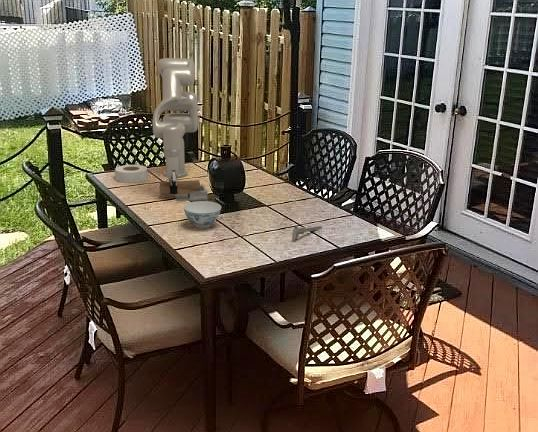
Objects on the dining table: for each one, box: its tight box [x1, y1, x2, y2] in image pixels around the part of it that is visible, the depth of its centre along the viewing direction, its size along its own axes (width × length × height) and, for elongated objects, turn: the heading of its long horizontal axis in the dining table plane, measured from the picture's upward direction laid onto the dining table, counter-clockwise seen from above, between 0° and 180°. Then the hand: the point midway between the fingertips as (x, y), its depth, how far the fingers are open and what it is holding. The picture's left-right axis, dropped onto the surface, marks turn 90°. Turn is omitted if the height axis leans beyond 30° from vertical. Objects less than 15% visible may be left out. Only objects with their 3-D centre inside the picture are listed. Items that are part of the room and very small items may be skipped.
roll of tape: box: [114, 164, 149, 184], centre depth 317 cm, size 16×16×6 cm
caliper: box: [291, 225, 323, 242], centre depth 249 cm, size 20×1×6 cm, turn 143°
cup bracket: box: [174, 184, 209, 202], centre depth 292 cm, size 11×14×4 cm
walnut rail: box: [158, 179, 201, 196], centre depth 290 cm, size 4×18×5 cm, turn 104°
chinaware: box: [183, 200, 222, 229], centre depth 256 cm, size 15×15×8 cm
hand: (173, 191), depth 289 cm, fingers closed on walnut rail, 4 cm apart
